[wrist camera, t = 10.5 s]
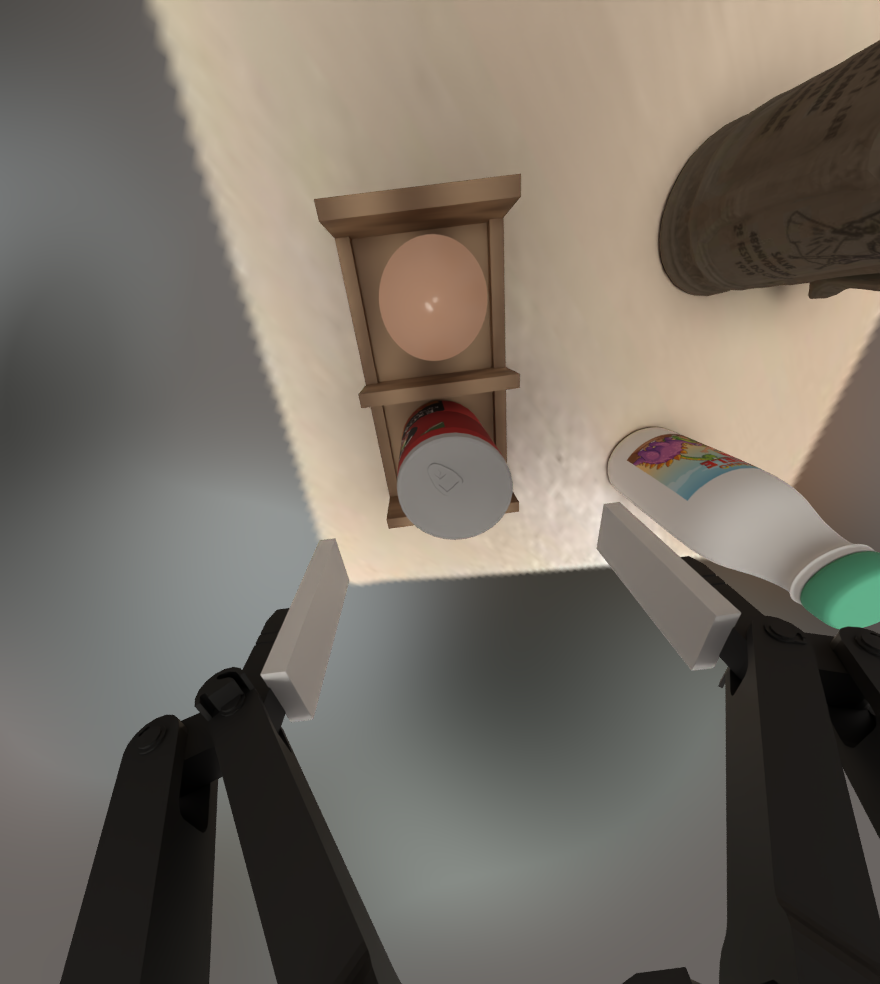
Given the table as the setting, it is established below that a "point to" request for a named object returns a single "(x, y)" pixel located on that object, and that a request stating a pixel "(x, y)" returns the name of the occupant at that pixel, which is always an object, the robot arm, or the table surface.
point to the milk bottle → (747, 523)
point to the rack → (387, 368)
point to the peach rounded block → (433, 297)
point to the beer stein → (785, 192)
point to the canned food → (451, 473)
